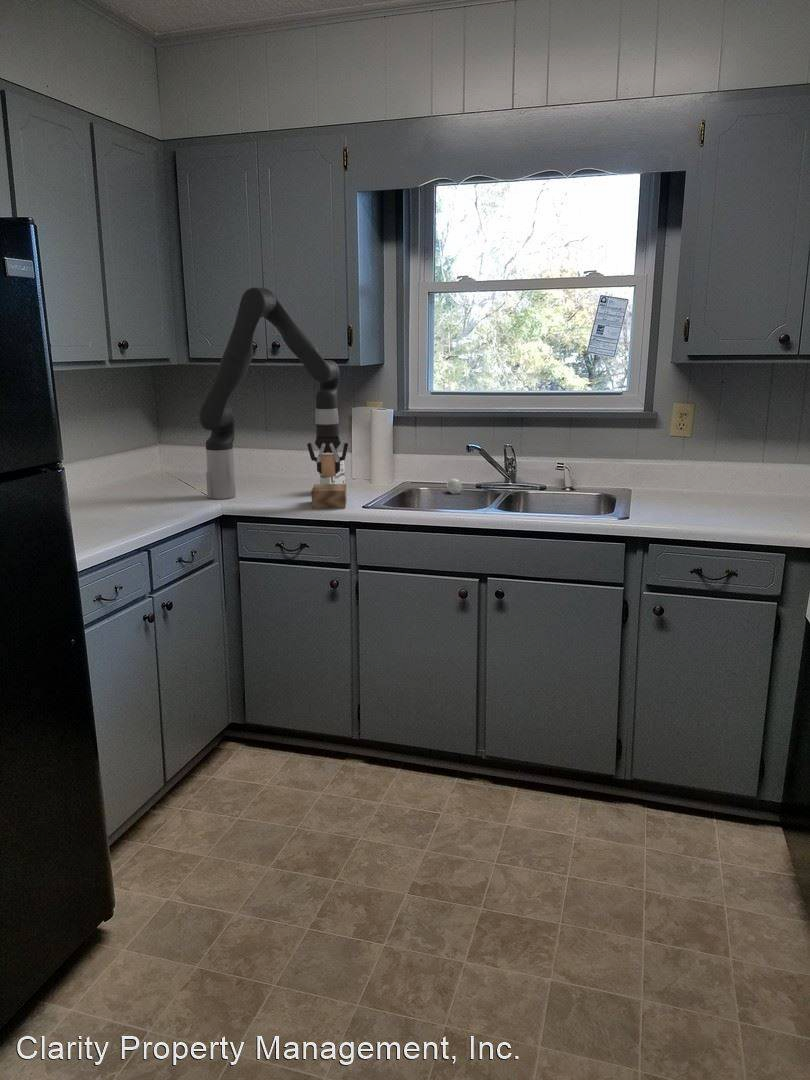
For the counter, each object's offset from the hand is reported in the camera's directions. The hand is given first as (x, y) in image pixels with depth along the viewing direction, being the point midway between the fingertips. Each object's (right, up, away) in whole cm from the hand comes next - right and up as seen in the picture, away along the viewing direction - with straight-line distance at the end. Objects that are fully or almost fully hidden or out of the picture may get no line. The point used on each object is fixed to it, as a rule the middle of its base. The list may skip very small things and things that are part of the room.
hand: (328, 472), depth 267 cm
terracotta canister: (0, -1, 0) cm, 1 cm away
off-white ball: (+44, -4, +20) cm, 48 cm away
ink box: (-1, -5, +24) cm, 24 cm away
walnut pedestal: (0, -11, +3) cm, 11 cm away
